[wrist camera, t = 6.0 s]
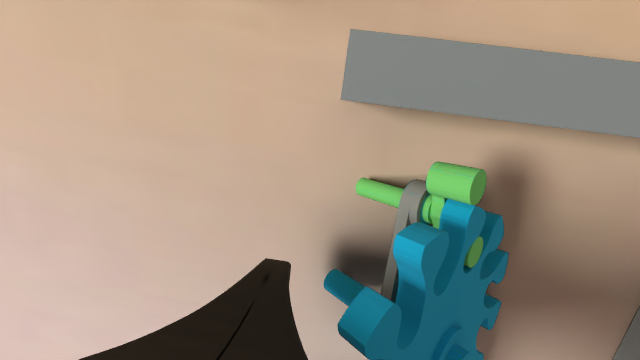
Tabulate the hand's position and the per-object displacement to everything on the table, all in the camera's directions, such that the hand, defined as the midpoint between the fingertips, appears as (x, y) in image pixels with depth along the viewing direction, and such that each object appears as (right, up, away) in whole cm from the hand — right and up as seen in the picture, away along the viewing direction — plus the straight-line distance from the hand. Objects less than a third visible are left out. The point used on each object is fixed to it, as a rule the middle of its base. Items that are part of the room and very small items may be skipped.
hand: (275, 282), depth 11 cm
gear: (+6, 0, +2) cm, 6 cm away
